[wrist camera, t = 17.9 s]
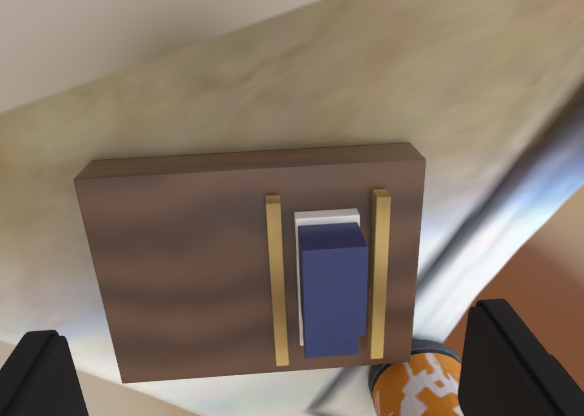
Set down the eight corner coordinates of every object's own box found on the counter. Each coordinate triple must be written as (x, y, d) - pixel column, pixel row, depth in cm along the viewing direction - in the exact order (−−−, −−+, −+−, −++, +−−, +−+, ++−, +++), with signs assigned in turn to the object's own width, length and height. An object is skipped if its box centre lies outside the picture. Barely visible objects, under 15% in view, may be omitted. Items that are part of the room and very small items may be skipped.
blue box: (293, 211, 34) (299, 244, 30) (356, 208, 34) (370, 239, 30) (298, 335, 39) (304, 379, 34) (354, 332, 39) (366, 375, 35)
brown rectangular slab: (91, 160, 36) (64, 187, 31) (410, 142, 37) (433, 166, 32) (133, 350, 43) (117, 397, 38) (397, 332, 44) (415, 375, 39)
